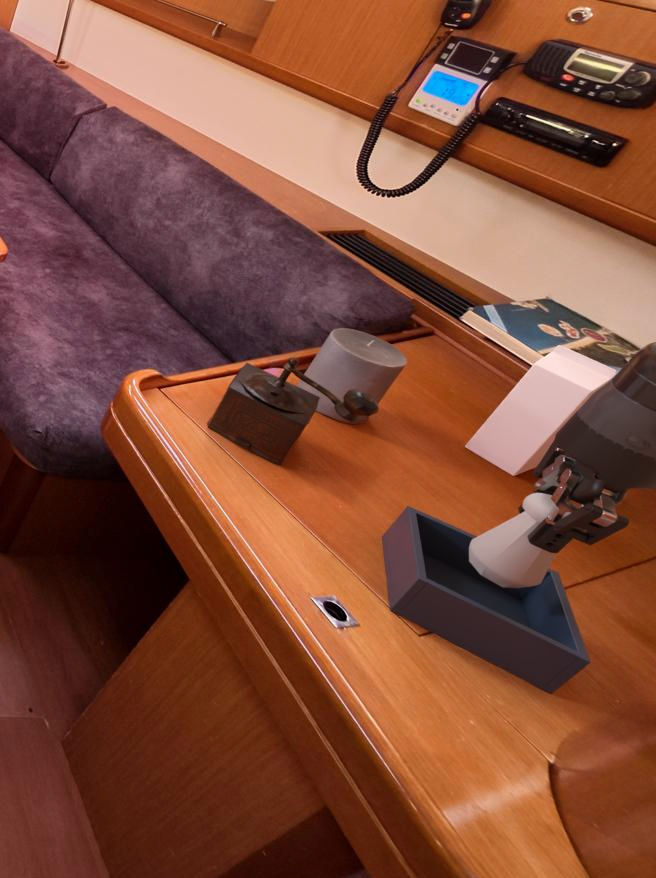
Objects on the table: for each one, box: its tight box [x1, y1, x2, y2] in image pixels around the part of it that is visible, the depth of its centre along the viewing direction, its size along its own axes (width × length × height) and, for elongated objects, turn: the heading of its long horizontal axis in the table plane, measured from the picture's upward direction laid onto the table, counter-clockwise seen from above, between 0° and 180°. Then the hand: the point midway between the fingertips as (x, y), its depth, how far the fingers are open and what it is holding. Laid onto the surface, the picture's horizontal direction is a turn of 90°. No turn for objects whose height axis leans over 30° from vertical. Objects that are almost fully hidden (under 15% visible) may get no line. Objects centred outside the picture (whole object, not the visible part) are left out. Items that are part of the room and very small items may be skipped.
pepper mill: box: [206, 356, 380, 466], centre depth 100 cm, size 16×11×18 cm
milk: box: [464, 345, 618, 477], centre depth 98 cm, size 6×6×22 cm
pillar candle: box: [296, 327, 408, 425], centre depth 109 cm, size 10×10×15 cm
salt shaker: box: [469, 492, 571, 588], centre depth 75 cm, size 6×6×13 cm
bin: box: [381, 505, 591, 695], centre depth 80 cm, size 14×14×7 cm
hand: (535, 531), depth 74 cm, fingers closed on salt shaker, 4 cm apart
